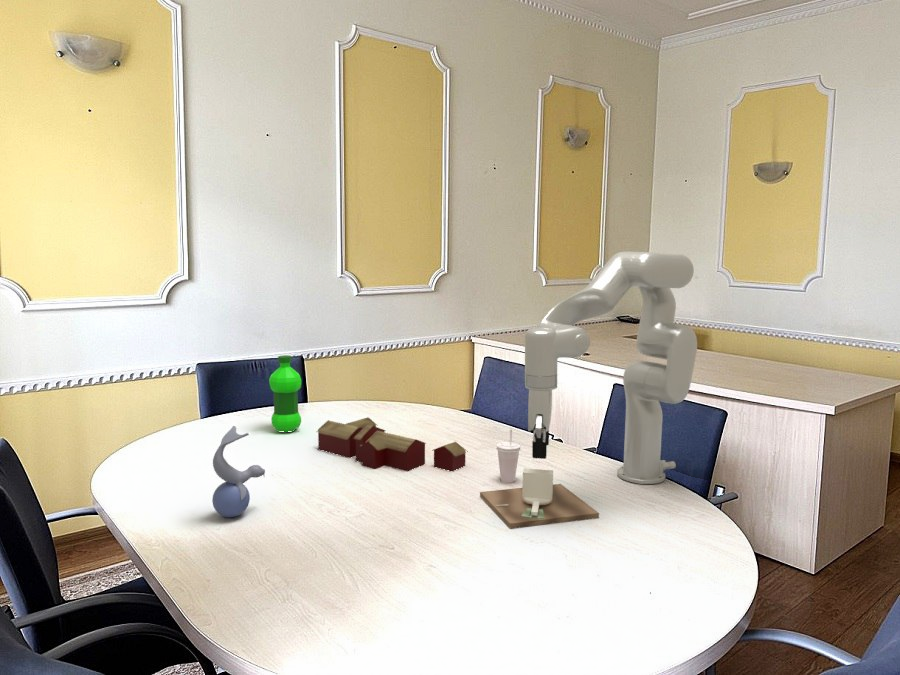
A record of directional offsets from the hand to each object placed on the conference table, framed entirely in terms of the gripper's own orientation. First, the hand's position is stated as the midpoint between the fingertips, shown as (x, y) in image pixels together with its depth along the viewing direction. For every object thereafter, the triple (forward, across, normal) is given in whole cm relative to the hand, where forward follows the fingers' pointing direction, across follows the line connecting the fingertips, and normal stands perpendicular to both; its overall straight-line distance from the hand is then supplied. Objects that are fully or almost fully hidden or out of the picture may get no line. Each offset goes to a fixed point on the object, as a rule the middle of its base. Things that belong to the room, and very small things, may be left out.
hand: (540, 451), depth 165 cm
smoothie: (+14, -16, -10) cm, 23 cm away
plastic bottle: (+13, -48, -86) cm, 100 cm away
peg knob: (+12, +4, -1) cm, 12 cm away
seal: (+12, +20, -68) cm, 72 cm away
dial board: (+14, +1, -1) cm, 14 cm away
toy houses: (+14, -28, -45) cm, 55 cm away
